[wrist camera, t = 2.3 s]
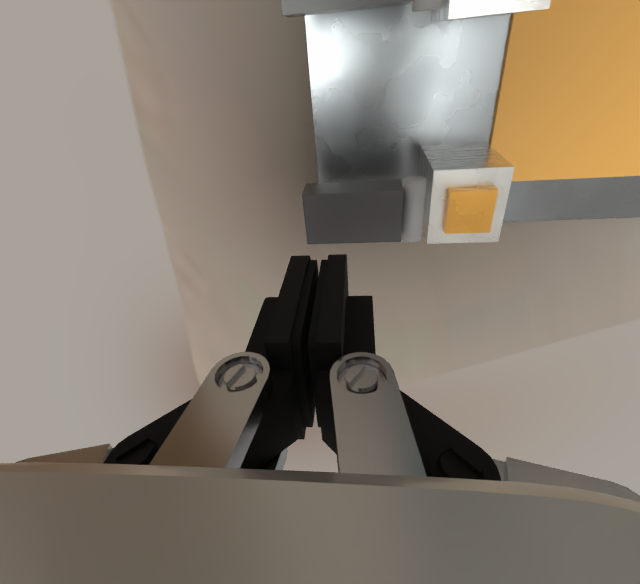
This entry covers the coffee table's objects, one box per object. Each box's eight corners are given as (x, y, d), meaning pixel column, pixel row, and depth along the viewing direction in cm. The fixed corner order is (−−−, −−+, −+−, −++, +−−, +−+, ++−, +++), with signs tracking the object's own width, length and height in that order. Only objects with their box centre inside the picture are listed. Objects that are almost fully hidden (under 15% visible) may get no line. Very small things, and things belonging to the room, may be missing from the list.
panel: (813, -171, 12) (1084, -295, 7) (644, 208, 19) (729, 261, 15) (298, -96, 14) (267, -157, 10) (323, 220, 21) (313, 269, 17)
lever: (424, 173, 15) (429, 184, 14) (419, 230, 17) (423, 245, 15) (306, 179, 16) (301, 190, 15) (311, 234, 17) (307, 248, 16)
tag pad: (788, -81, 12) (797, -83, 12) (672, 172, 17) (676, 173, 17) (522, -49, 13) (525, -51, 13) (482, 180, 18) (484, 182, 18)
